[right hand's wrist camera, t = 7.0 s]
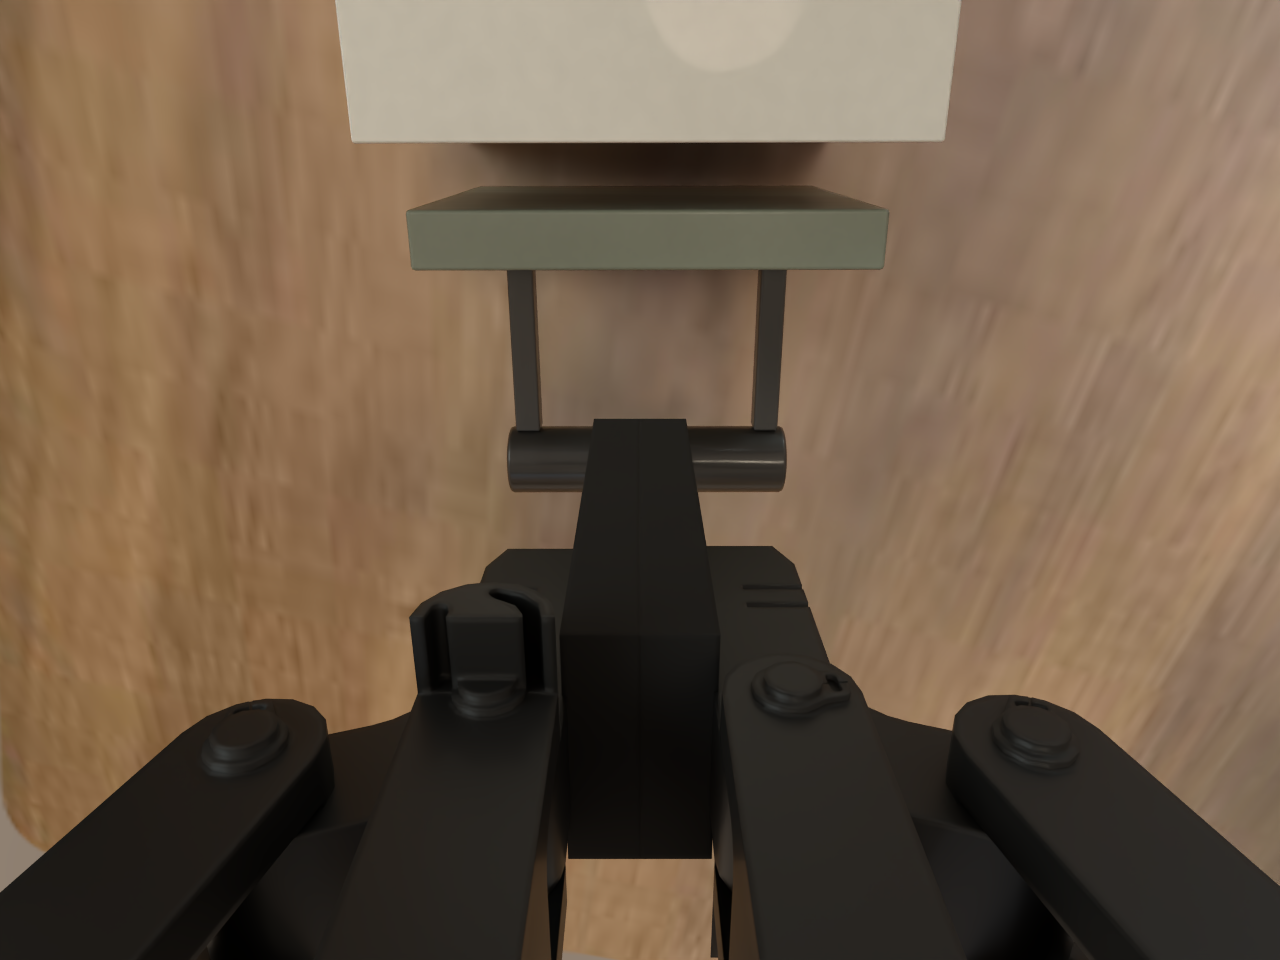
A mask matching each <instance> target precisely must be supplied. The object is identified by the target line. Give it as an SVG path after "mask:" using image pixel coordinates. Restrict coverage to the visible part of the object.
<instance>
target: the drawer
mask: <svg viewBox="0 0 1280 960" xmlns="http://www.w3.org/2000/svg"><path fill="white" fill-rule="evenodd" d="M406 218H407V228H408V238H409V248H410V258H411V267H412V269H413V270H507V280H508V297H509V314H510V331H511V348H512V365H513V382H514V400H515V417H516V426H515V427H512V428H511V430H510V433H509V437H508V446H507V471H508V480H509V485H510V488H511V490H512V491H513V492H582V491H583V485H584V479H585V472H586V466H587V460H588V454H589V448H590V441H591V435H592V429H593V426H542V403H541V381H540V360H539V338H538V317H537V295H536V274H535V270H758V289H757V309H756V330H755V351H754V371H753V392H752V413H751V423H752V426H687V429H688V435H689V441H690V448H691V454H692V460H693V466H694V472H695V479H696V485H697V491H698V492H779V491H782V489H783V487H784V483H785V478H786V466H787V451H786V439H785V434H784V431H783V429H782V427H780V426H777V424H778V408H779V391H780V374H781V358H782V341H783V325H784V308H785V292H786V275H787V270H880V269H883V267H884V261H885V251H886V241H887V231H888V221H889V210H887V209H885V208H881V207H878V206H875V205H872V204H868V203H865V202H862V201H859V200H855V199H852V198H849V197H846V196H843V195H839V194H836V193H833V192H830V191H826V190H823V189H820V188H817V187H813V186H481V187H477V188H474V189H471V190H468V191H465V192H462V193H459V194H456V195H453V196H450V197H447V198H444V199H441V200H438V201H435V202H432V203H429V204H426V205H423V206H420V207H417V208H414V209H411V210H408V211H407V212H406Z"/></svg>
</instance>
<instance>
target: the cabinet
mask: <svg viewBox="0 0 1280 960" xmlns="http://www.w3.org/2000/svg"><path fill="white" fill-rule="evenodd" d="M961 1H962V0H335V3H336V12H337V20H338V29H339V37H340V45H341V54H342V62H343V71H344V79H345V88H346V96H347V105H348V113H349V122H350V130H351V139H352V142H353V143H769V142H943V141H944V140H945V133H946V125H947V117H948V109H949V100H950V92H951V84H952V75H953V67H954V59H955V51H956V42H957V34H958V26H959V18H960V9H961Z"/></svg>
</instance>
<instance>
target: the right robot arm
mask: <svg viewBox="0 0 1280 960" xmlns="http://www.w3.org/2000/svg"><path fill="white" fill-rule="evenodd" d="M409 619H410V628H411V637H412V645H413V654H414V663H415V672H416V680H417V689H418V695H417V697H416V700H415V702H414V705H413V707H412V710H411V712H409V713H406V714H404V715H402V716H400V717H397V718H395V719H393V720H389V721H386V722H382V723H379V724H375V725H371V726H367V727H362V728H357V729H352V730H348V731H343V732H338V733H333V734H329V735H328V730H327V724H326V719H325V718H324V717H323V716H322V715H321V714H320V713H319V712H318V711H317V710H316V708H315V707H314V706H311V705H308V704H305V703H302V702H299V701H296V700H293V699H262V700H255V701H252V702H245V703H241V704H236V705H234V706H231V707H229V708H226V709H224V710H221V711H219V712H216V713H214V714H211V715H209V716H206V717H205V718H203V719H202V720H201V721H199V722H198V723H196V724H195V725H193V726H192V727H190V728H189V729H187V730H186V731H184V732H183V733H181V734H180V735H179V736H178V737H177V738H176V739H175V740H173V741H172V742H171V743H170V744H169V745H168V746H167V747H165V748H164V749H163V750H162V751H161V752H160V753H159V754H158V755H156V756H155V757H154V758H153V759H152V760H151V761H150V762H148V763H147V764H146V765H145V766H144V767H143V768H142V769H140V770H139V771H138V772H137V773H136V774H135V775H134V776H132V777H131V778H130V779H129V780H128V781H127V782H126V783H124V784H123V785H122V786H121V787H120V788H119V789H118V790H117V791H115V792H114V793H113V794H112V795H111V796H110V797H109V798H107V799H106V800H105V801H104V802H103V803H102V804H101V805H99V806H98V807H97V808H96V809H95V810H94V811H93V812H91V813H90V814H89V815H88V816H87V817H86V818H85V819H83V820H82V821H81V822H80V823H79V824H78V825H77V826H76V827H74V828H73V829H72V830H71V831H70V832H69V833H68V834H66V835H65V836H64V837H63V838H62V839H61V840H60V841H58V842H57V843H56V844H55V845H54V846H53V847H52V848H50V849H49V850H48V851H47V852H46V853H45V854H44V855H42V856H41V857H40V858H39V859H38V860H37V861H36V862H35V863H33V864H32V865H31V866H30V867H29V868H28V869H27V870H25V871H24V872H23V873H22V874H21V875H20V876H19V877H17V878H16V879H15V880H14V881H13V882H12V883H11V884H9V885H8V886H7V887H6V888H5V889H4V890H3V891H2V892H0V960H562V951H563V940H564V929H565V918H566V907H567V890H566V867H565V862H566V852H567V842H568V859H712V838H713V848H714V857H715V867H714V890H713V914H712V938H711V957H718V960H1280V886H1279V885H1278V884H1277V883H1275V882H1274V881H1273V880H1272V879H1271V878H1270V877H1268V876H1267V875H1266V874H1265V873H1264V872H1263V871H1262V870H1260V869H1259V868H1258V867H1257V866H1256V865H1255V864H1254V863H1252V862H1251V861H1250V860H1249V859H1248V858H1247V857H1245V856H1244V855H1243V854H1242V853H1241V852H1240V851H1239V850H1237V849H1236V848H1235V847H1234V846H1233V845H1232V844H1231V843H1229V842H1228V841H1227V840H1226V839H1225V838H1224V837H1223V836H1221V835H1220V834H1219V833H1218V832H1217V831H1216V830H1214V829H1213V828H1212V827H1211V826H1210V825H1209V824H1208V823H1206V822H1205V821H1204V820H1203V819H1202V818H1201V817H1200V816H1198V815H1197V814H1196V813H1195V812H1194V811H1193V810H1192V809H1190V808H1189V807H1188V806H1187V805H1186V804H1185V803H1183V802H1182V801H1181V800H1180V799H1179V798H1178V797H1177V796H1175V795H1174V794H1173V793H1172V792H1171V791H1170V790H1169V789H1167V788H1166V787H1165V786H1164V785H1163V784H1162V783H1161V782H1159V781H1158V780H1157V779H1156V778H1155V777H1154V776H1152V775H1151V774H1150V773H1149V772H1148V771H1147V770H1146V769H1144V768H1143V767H1142V766H1141V765H1140V764H1139V763H1138V762H1136V761H1135V760H1134V759H1133V758H1132V757H1131V756H1130V755H1128V754H1127V753H1126V752H1125V751H1124V750H1123V749H1121V748H1120V747H1119V746H1118V745H1117V744H1116V743H1115V742H1113V741H1112V740H1111V739H1110V738H1109V737H1108V736H1107V735H1105V734H1104V733H1103V732H1102V731H1101V730H1100V729H1098V728H1097V727H1095V726H1094V725H1092V724H1091V723H1089V722H1088V721H1086V720H1085V719H1083V718H1082V717H1080V716H1079V715H1077V714H1076V713H1074V712H1072V711H1070V710H1067V709H1065V708H1062V707H1060V706H1057V705H1055V704H1052V703H1050V702H1047V701H1044V700H1040V699H1036V698H1029V697H1026V696H1018V695H989V696H985V697H982V698H979V699H976V700H973V701H970V702H967V703H966V704H965V705H964V706H963V707H962V708H961V709H960V711H959V712H958V713H957V714H956V715H955V718H954V724H953V730H952V731H950V730H946V729H941V728H936V727H931V726H926V725H922V724H917V723H912V722H908V721H904V720H901V719H897V718H894V717H890V716H887V715H884V714H882V713H880V712H878V711H875V710H873V709H871V708H869V707H868V706H867V703H866V701H865V698H864V696H863V693H862V691H861V690H860V689H859V687H858V686H857V685H856V683H855V682H854V680H853V679H852V678H851V676H849V675H848V674H846V673H845V672H843V671H841V670H840V669H838V668H837V667H835V666H834V665H832V664H830V662H829V660H828V657H827V654H826V651H825V648H824V646H823V643H822V640H821V637H820V635H819V632H818V629H817V626H816V623H815V621H814V618H813V615H812V612H811V609H810V607H808V601H807V598H806V595H805V593H804V590H803V589H802V584H801V582H800V579H799V576H798V573H797V570H796V568H795V565H794V564H793V563H792V562H791V561H790V560H789V559H787V558H786V557H785V556H784V555H782V554H781V553H780V552H779V551H778V550H776V549H775V548H774V547H773V546H706V541H705V535H704V528H703V522H702V516H701V510H700V503H699V497H698V491H697V485H696V479H695V472H694V466H693V460H692V454H691V448H690V441H689V435H688V429H687V423H686V419H594V423H593V429H592V435H591V441H590V448H589V454H588V460H587V466H586V472H585V479H584V485H583V491H582V497H581V503H580V510H579V516H578V522H577V528H576V535H575V541H574V547H573V549H507V550H506V551H505V552H504V553H502V554H501V555H500V556H499V557H498V558H496V559H495V560H494V561H493V562H491V563H490V564H489V565H488V566H487V567H486V568H485V571H484V574H483V577H482V580H481V582H480V583H477V584H467V585H463V586H460V587H456V588H453V589H449V590H446V591H442V592H440V593H438V594H437V595H435V596H433V597H431V598H429V599H428V600H426V601H424V602H422V603H421V604H420V605H419V606H418V608H417V609H416V610H415V611H414V612H413V613H412V615H411V616H410V617H409Z"/></svg>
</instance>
